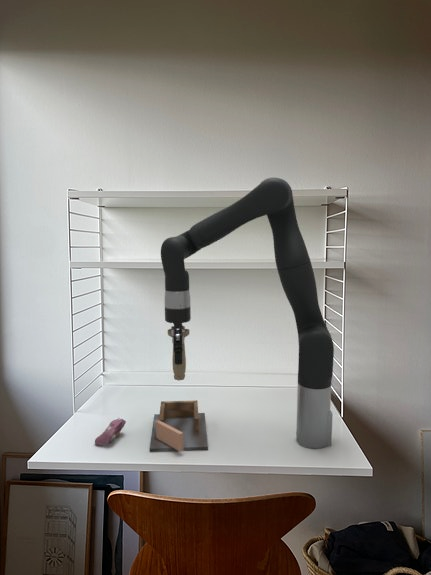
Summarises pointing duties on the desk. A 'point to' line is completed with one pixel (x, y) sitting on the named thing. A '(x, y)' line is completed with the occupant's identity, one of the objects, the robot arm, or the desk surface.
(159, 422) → the gate
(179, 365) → the handle
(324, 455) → the desk surface
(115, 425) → the mauve rounded lump
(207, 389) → the desk surface
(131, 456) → the desk surface
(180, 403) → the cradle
